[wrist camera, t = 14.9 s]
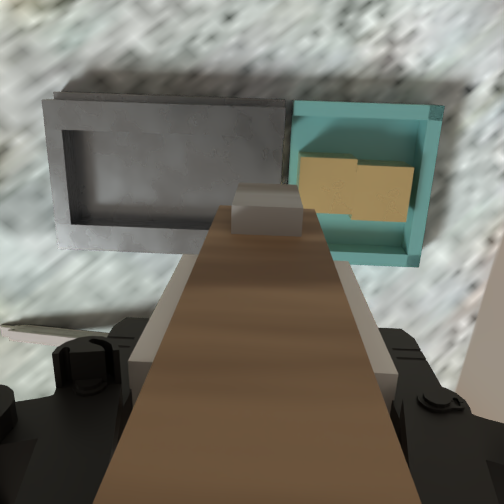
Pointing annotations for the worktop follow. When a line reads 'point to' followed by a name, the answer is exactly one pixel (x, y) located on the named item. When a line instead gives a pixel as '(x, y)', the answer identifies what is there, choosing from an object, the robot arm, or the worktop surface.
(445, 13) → the worktop surface
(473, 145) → the worktop surface
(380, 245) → the tray
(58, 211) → the grey shallow bin
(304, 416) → the brown long block
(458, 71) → the worktop surface
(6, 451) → the robot arm
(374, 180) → the tan block
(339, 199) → the chip
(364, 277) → the worktop surface
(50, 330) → the caliper
